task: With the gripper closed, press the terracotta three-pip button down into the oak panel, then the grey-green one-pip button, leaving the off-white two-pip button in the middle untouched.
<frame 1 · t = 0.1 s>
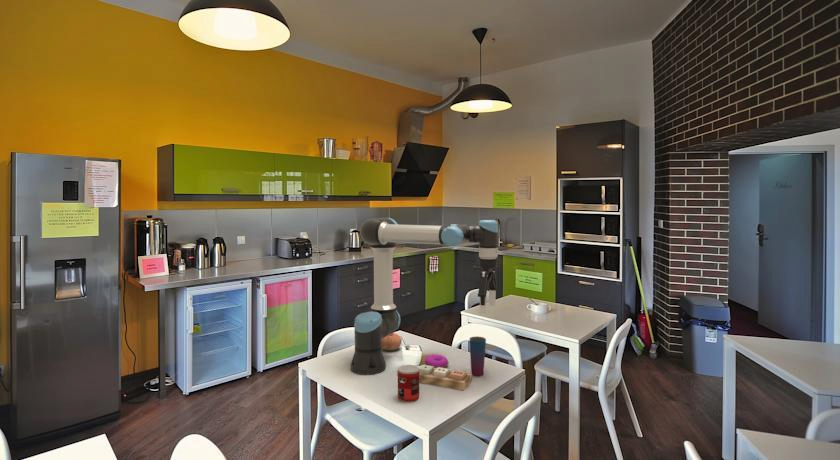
hand: (487, 309, 184), 28 cm above the table, fingers open, 13 cm apart
orange pumpkin: (390, 349, 219), on the table
button 2: (441, 372, 180), point 4 cm above the table, slide at 0.0 cm
button 3: (458, 375, 177), point 4 cm above the table, slide at 0.0 cm
canned food: (408, 398, 165), on the table
cup: (477, 374, 187), on the table
donut: (436, 367, 196), on the table
panel: (441, 381, 180), on the table
button 1: (425, 369, 183), point 4 cm above the table, slide at 0.0 cm
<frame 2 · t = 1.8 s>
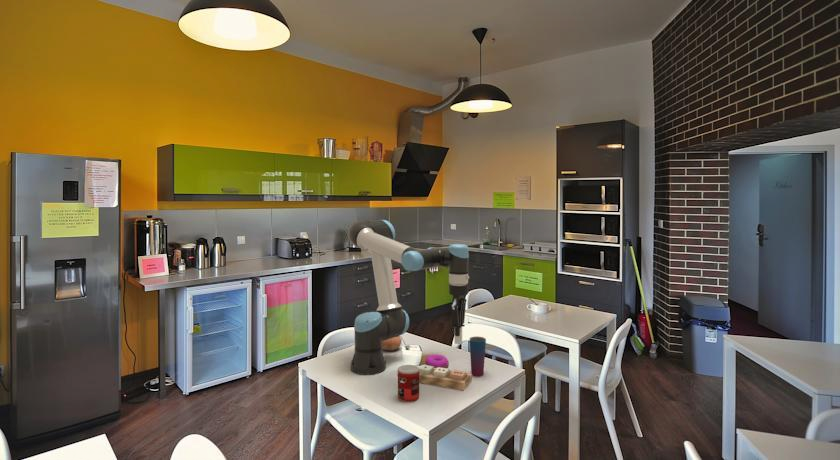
hand: (458, 343, 176), 16 cm above the table, fingers closed
nothing on the table moved.
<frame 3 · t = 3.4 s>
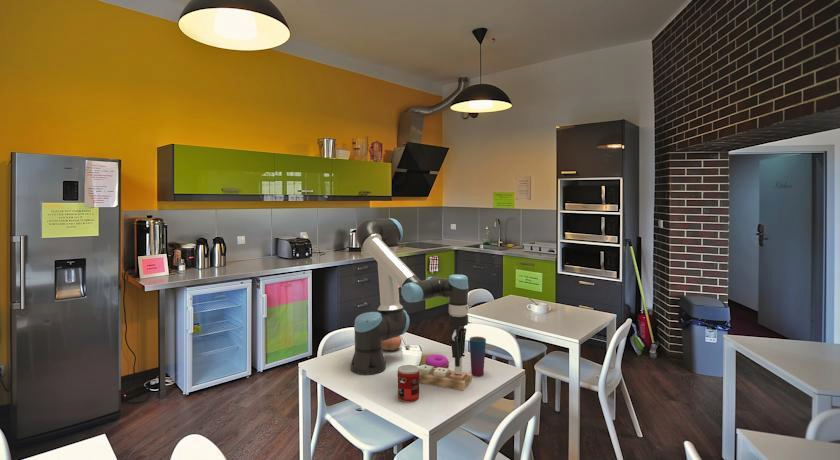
hand: (458, 373, 177), 4 cm above the table, fingers closed
button 3: (458, 376, 177), point 3 cm above the table, slide at 0.6 cm, touching gripper
everything else where it was.
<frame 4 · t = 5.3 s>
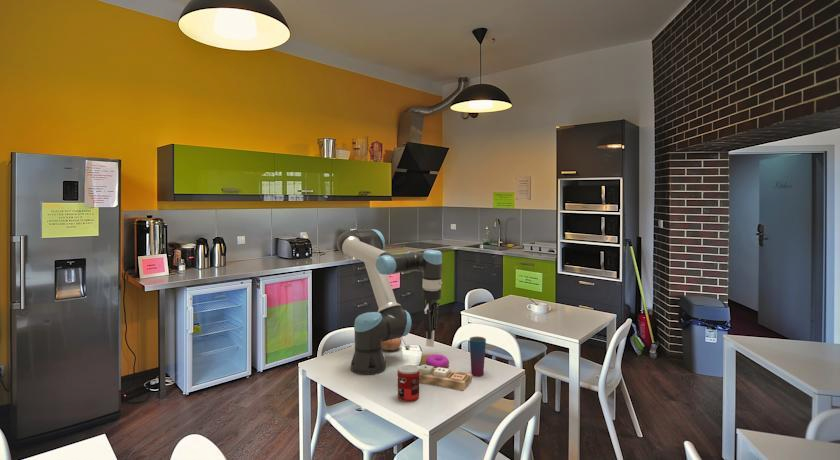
hand: (430, 345, 182), 14 cm above the table, fingers closed
button 3: (458, 378, 177), point 2 cm above the table, slide at 1.5 cm
everything else where it was.
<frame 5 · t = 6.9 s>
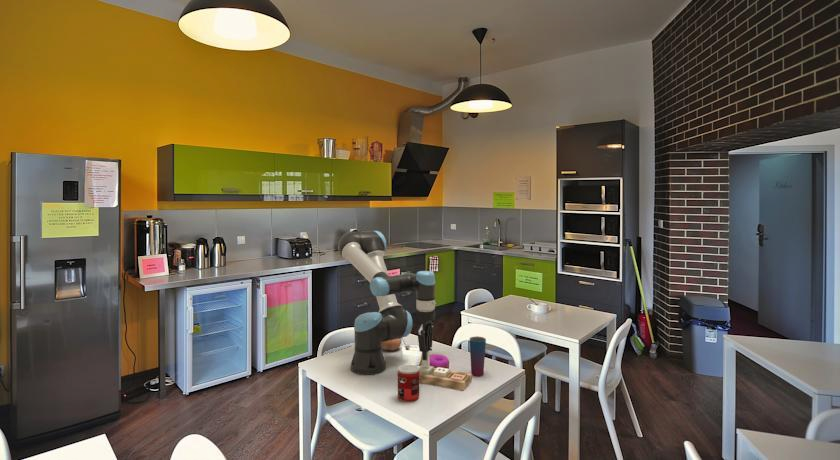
hand: (425, 366, 182), 5 cm above the table, fingers closed
button 1: (425, 369, 183), point 3 cm above the table, slide at 0.1 cm, touching gripper
everything else where it was.
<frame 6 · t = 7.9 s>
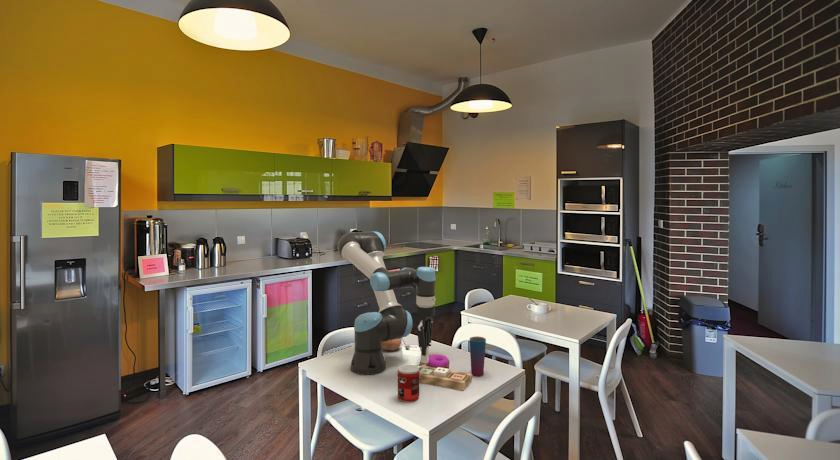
hand: (424, 362, 183), 7 cm above the table, fingers closed
button 1: (425, 373, 183), point 2 cm above the table, slide at 1.5 cm
everything else where it was.
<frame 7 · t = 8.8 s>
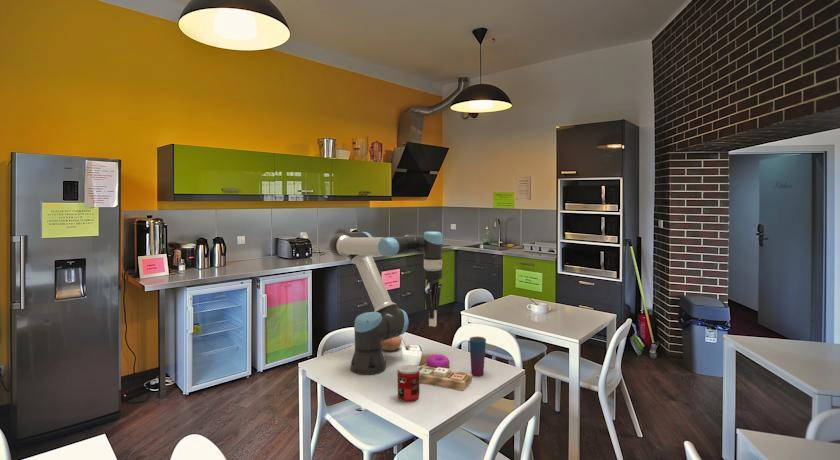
hand: (432, 325, 185), 21 cm above the table, fingers closed
nothing on the table moved.
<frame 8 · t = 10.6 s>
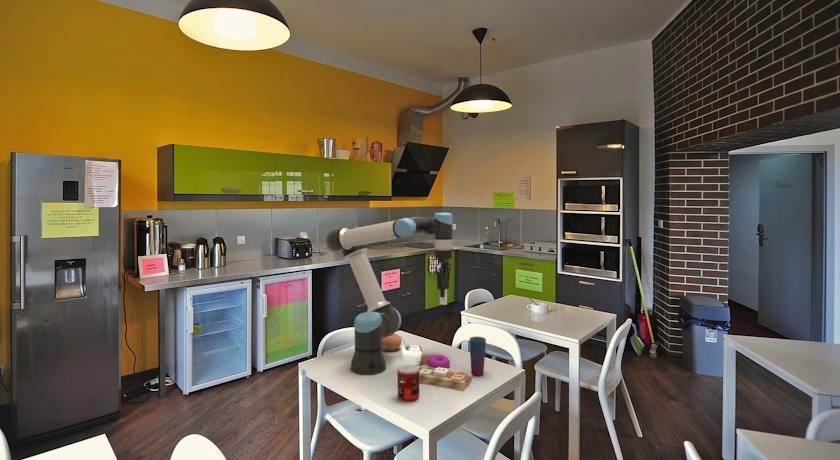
hand: (443, 304, 191), 28 cm above the table, fingers closed
nothing on the table moved.
at the end: button 3 slide at 1.5 cm; button 1 slide at 1.5 cm; button 2 slide at 0.0 cm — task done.
